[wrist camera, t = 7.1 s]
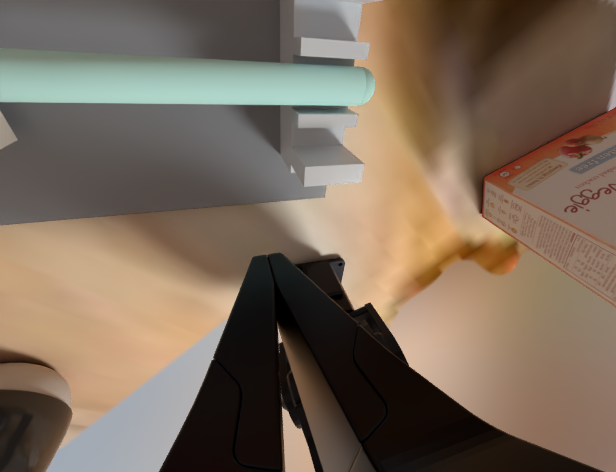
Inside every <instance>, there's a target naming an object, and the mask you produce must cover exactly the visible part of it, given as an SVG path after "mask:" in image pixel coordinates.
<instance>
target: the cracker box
mask: <svg viewBox="0 0 616 472" xmlns="http://www.w3.org/2000/svg"><path fill="white" fill-rule="evenodd" d="M482 217H483V218H485V219H486V220H488V221H489V222H490V223H492V224H493V225H495V226H496V227H498V228H499V229H501V230H502V231H504V232H505V233H507V234H508V235H510V236H511V237H513V238H514V239H515V240H517V241H518V242H520V243H521V244H523V245H524V246H526V247H527V248H529V249H530V250H532V251H533V252H534V253H536V254H537V255H539V256H540V257H542V258H543V259H545V260H546V261H548V262H549V263H551V264H552V265H554V266H555V267H557V268H558V269H559V270H561V271H562V272H564V273H565V274H567V275H568V276H570V277H571V278H573V279H574V280H576V281H577V282H579V283H580V284H582V285H583V286H585V287H586V288H588V289H589V290H591V291H592V292H593V293H595V294H597V295H598V296H599V297H601V298H602V299H604V300H605V301H607V302H608V303H610V304H611V305H613V306H614V307H616V107H615V108H614V109H612V110H610V111H608V112H606V113H605V114H603V115H601V116H599V117H597V118H595V119H593V120H591V121H589V122H588V123H586V124H584V125H582V126H580V127H578V128H576V129H574V130H572V131H571V132H569V133H567V134H565V135H563V136H561V137H559V138H557V139H555V140H554V141H552V142H550V143H548V144H546V145H544V146H542V147H540V148H538V149H537V150H535V151H533V152H531V153H529V154H527V155H525V156H523V157H521V158H519V159H518V160H516V161H514V162H512V163H510V164H508V165H506V166H504V167H502V168H501V169H499V170H497V171H495V172H493V173H491V174H489V175H487V176H485V177H484V189H483V206H482Z"/></svg>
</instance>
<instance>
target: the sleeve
mask: <svg viewBox="0 0 616 472" xmlns="http://www.w3.org/2000/svg"><path fill="white" fill-rule="evenodd" d="M17 140H18V139H17V138H16V136H15V134H14V133H13V131H12V129H11V128H10V126H9V124H8V123H7V121H6V119H5V118H4V116H3V114H2V113H1V111H0V149H2V148H4V147H6V146H8V145H10V144H11V143H13V142H15V141H17Z"/></svg>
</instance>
